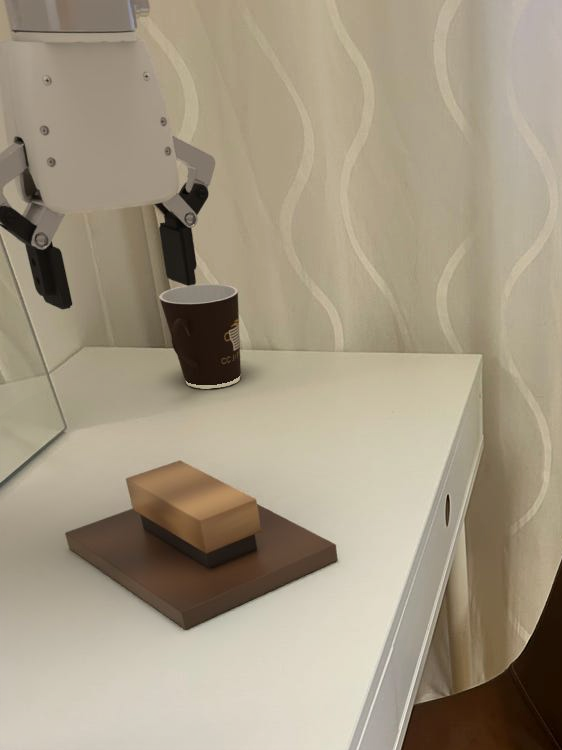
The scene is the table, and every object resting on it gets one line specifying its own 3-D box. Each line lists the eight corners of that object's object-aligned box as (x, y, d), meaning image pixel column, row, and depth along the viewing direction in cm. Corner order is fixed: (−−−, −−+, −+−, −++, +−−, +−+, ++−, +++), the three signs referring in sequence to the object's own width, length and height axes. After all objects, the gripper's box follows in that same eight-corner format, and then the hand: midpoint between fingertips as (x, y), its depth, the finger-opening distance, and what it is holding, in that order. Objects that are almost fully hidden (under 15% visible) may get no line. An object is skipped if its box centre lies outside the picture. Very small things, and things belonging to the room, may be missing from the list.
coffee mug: (216, 364, 120) (202, 280, 114) (265, 377, 116) (253, 290, 110) (139, 391, 112) (120, 302, 106) (189, 406, 108) (172, 314, 102)
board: (68, 548, 80) (64, 532, 79) (214, 494, 89) (211, 479, 88) (185, 630, 70) (181, 612, 69) (338, 560, 78) (336, 544, 77)
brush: (136, 527, 80) (124, 478, 78) (189, 507, 83) (180, 459, 81) (209, 572, 74) (199, 520, 71) (264, 549, 77) (256, 498, 74)
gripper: (164, 12, 68) (199, 265, 78) (-96, 12, 58) (-19, 304, 68) (222, 15, 64) (252, 283, 74) (-48, 15, 54) (27, 327, 63)
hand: (122, 293), depth 71 cm, fingers open, 9 cm apart
